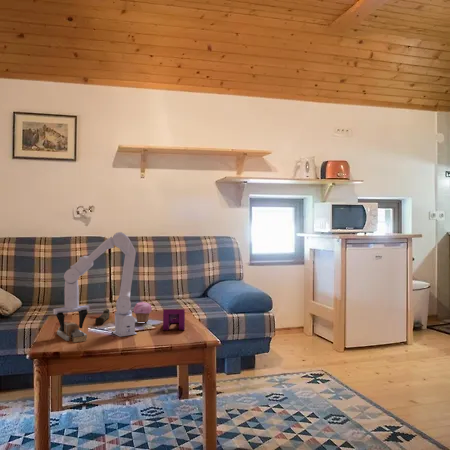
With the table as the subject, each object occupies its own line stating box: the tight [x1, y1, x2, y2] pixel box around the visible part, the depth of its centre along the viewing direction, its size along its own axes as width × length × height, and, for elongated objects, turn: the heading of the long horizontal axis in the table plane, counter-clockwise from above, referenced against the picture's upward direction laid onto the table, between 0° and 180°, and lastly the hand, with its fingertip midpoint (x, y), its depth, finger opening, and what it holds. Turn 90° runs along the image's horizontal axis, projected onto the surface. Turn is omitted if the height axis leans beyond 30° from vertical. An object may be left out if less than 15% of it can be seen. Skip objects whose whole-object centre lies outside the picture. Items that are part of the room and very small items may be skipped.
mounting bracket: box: [162, 308, 186, 332], centre depth 211 cm, size 9×8×18 cm
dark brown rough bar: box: [94, 308, 110, 326], centre depth 225 cm, size 19×4×5 cm, turn 179°
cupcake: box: [133, 301, 153, 323], centre depth 220 cm, size 9×9×10 cm
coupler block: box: [63, 321, 80, 340], centre depth 194 cm, size 4×8×5 cm, turn 34°
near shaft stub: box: [71, 329, 87, 344], centre depth 187 cm, size 6×5×4 cm
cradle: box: [56, 330, 88, 342], centre depth 194 cm, size 14×8×2 cm, turn 35°
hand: (71, 329), depth 194 cm, fingers open, 7 cm apart
